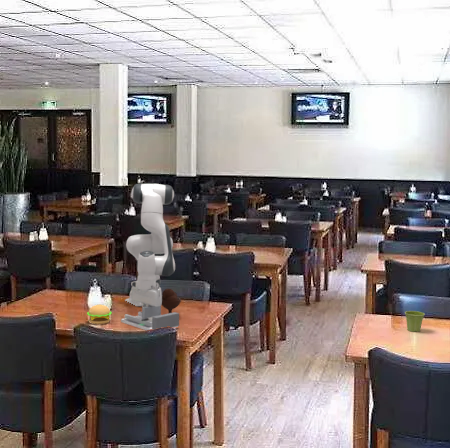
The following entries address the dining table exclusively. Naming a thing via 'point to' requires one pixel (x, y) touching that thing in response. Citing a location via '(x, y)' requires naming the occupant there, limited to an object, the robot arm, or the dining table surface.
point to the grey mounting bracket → (157, 321)
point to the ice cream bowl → (170, 300)
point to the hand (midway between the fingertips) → (146, 312)
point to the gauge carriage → (150, 312)
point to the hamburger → (99, 314)
